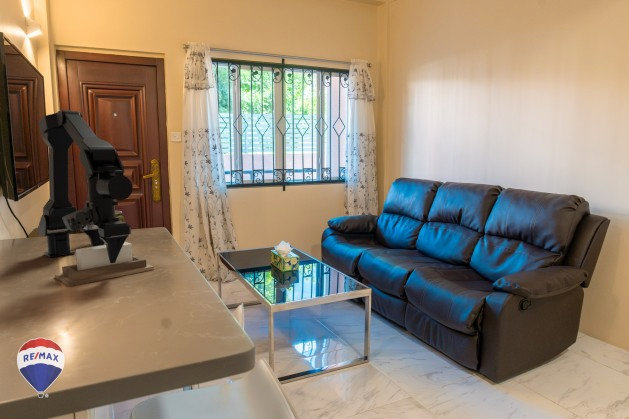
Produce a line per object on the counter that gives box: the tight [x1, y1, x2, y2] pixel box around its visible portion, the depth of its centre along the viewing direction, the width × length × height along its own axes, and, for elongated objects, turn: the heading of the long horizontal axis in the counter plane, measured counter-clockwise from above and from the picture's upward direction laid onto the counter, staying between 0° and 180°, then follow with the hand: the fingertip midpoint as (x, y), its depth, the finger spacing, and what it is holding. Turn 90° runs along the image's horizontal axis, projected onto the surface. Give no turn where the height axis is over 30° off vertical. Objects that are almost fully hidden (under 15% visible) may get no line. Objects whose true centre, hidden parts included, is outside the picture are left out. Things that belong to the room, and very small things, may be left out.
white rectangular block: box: [75, 241, 133, 271], centre depth 109 cm, size 4×12×6 cm, turn 135°
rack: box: [54, 254, 155, 287], centre depth 109 cm, size 10×20×3 cm, turn 136°
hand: (105, 259), depth 109 cm, fingers open, 9 cm apart
